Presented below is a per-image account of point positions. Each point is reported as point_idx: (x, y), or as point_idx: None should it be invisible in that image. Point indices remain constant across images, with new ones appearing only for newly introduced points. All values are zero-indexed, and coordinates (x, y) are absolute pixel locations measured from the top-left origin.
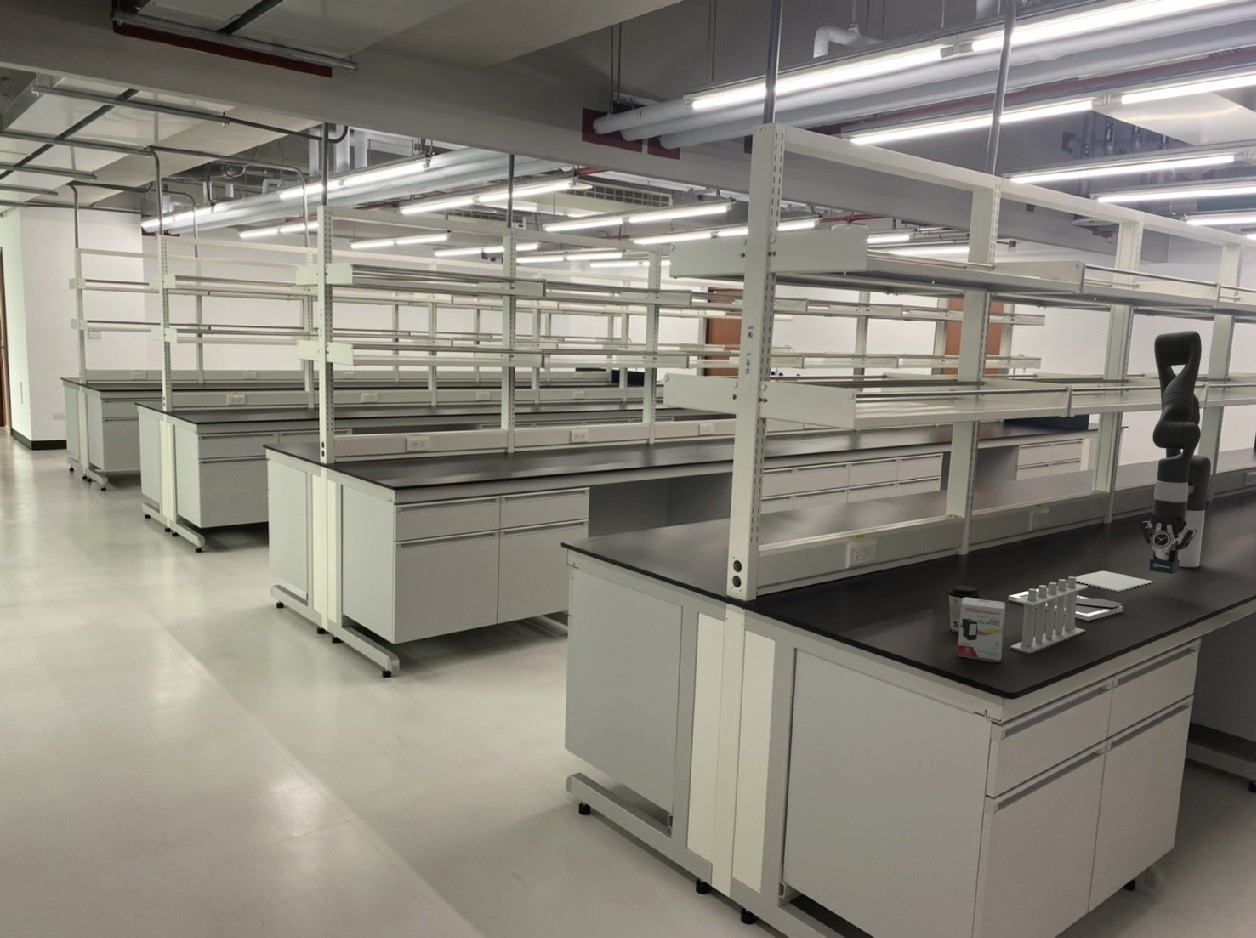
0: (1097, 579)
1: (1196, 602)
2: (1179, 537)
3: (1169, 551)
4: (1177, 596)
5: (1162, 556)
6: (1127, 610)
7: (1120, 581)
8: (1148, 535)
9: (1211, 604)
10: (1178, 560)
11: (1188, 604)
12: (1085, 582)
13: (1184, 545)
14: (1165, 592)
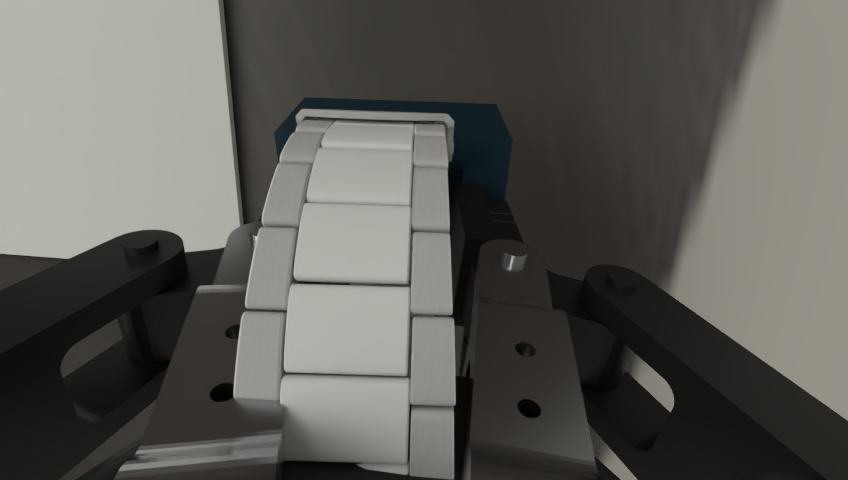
0: (6, 126)
1: (597, 144)
2: (567, 345)
3: (450, 315)
4: (483, 92)
5: (411, 341)
6: None
7: (101, 48)
8: (114, 433)
9: (671, 120)
10: (507, 168)
11: (571, 219)
12: (49, 252)
13: (644, 407)
14: (399, 48)
